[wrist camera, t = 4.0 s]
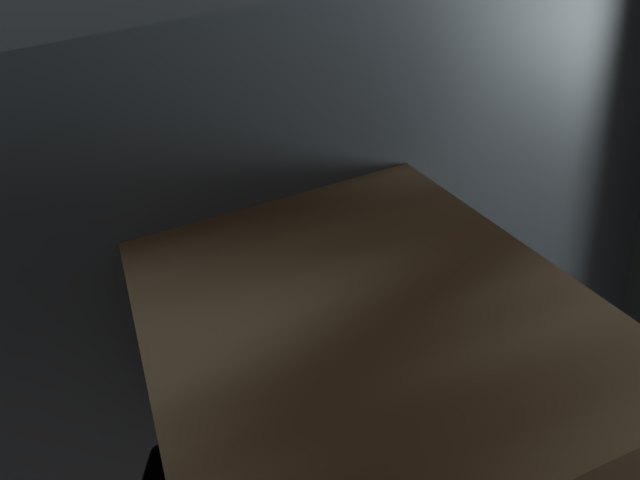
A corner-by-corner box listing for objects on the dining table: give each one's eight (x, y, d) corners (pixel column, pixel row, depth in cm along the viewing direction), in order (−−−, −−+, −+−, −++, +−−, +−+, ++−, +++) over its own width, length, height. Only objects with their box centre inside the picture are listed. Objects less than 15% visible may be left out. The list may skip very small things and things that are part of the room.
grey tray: (698, -161, 9) (847, -180, 7) (593, 438, 15) (658, 500, 14) (-685, 31, 5) (-1065, 88, 3) (-30, 724, 11) (-44, 859, 10)
